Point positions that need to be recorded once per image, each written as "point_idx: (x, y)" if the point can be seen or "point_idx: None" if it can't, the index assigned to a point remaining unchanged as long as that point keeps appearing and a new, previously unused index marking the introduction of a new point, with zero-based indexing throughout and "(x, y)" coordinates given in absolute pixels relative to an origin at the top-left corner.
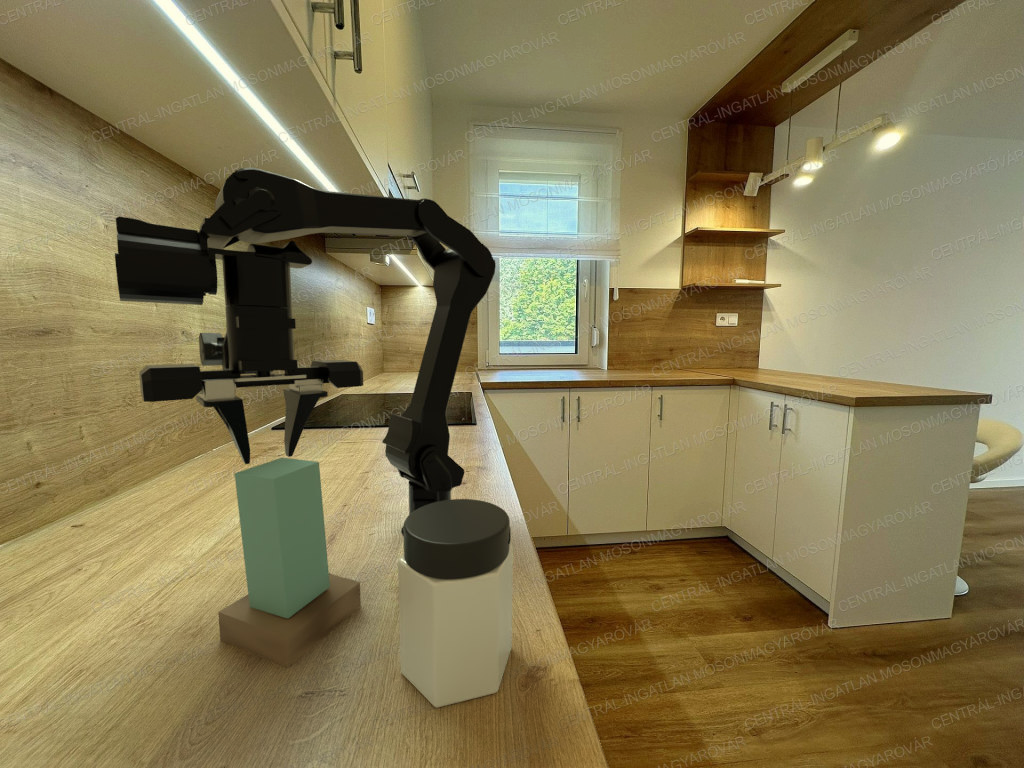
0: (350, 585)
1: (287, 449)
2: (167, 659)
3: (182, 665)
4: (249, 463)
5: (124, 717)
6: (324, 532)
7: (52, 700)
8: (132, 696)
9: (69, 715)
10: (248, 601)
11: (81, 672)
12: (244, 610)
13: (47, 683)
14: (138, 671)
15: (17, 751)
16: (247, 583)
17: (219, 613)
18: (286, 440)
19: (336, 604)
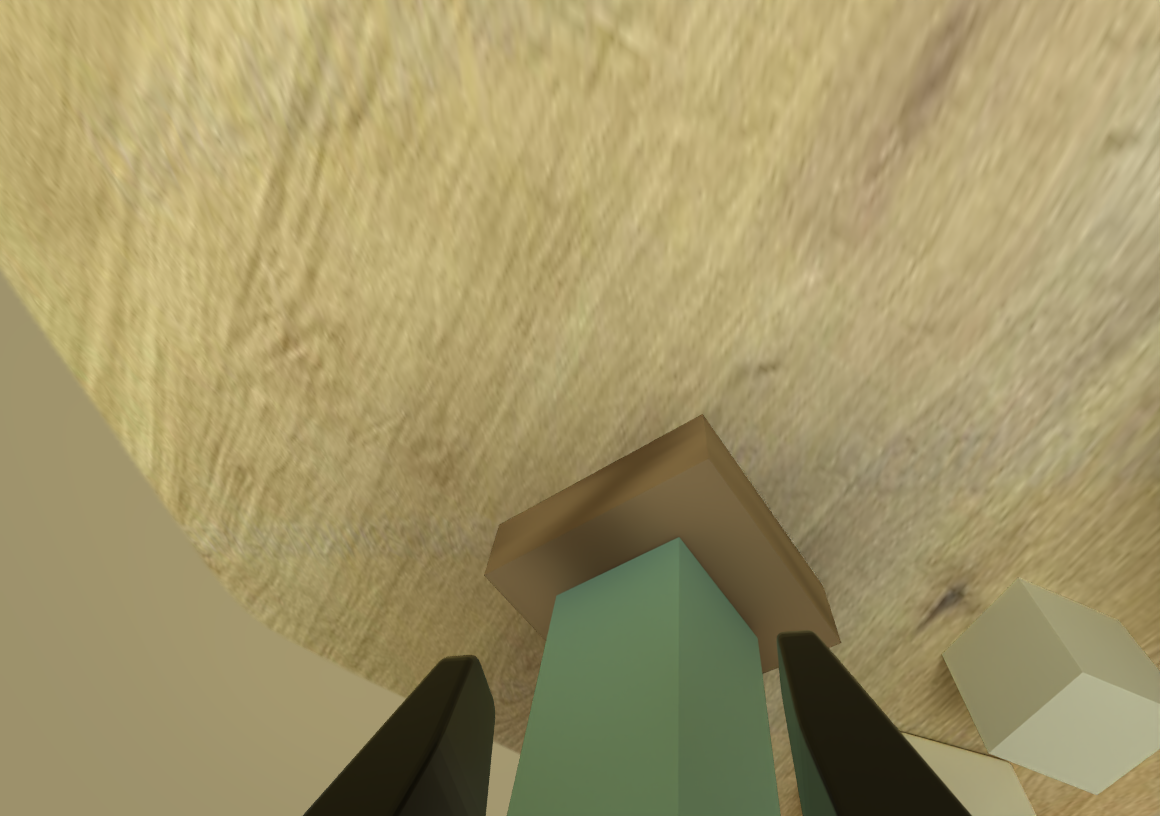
0: None
1: (791, 739)
2: (402, 528)
3: (437, 561)
4: (492, 710)
5: (376, 629)
6: (776, 802)
7: (234, 529)
8: (371, 592)
9: (285, 580)
10: (553, 571)
11: (244, 476)
12: (544, 601)
13: (195, 475)
14: (357, 533)
15: (248, 612)
16: (545, 648)
17: (487, 577)
18: (811, 797)
19: None
